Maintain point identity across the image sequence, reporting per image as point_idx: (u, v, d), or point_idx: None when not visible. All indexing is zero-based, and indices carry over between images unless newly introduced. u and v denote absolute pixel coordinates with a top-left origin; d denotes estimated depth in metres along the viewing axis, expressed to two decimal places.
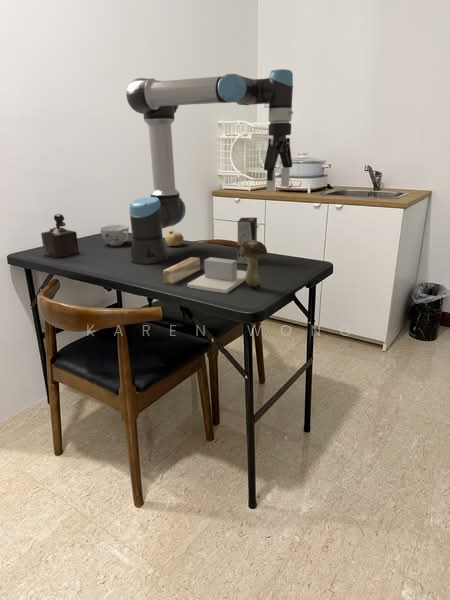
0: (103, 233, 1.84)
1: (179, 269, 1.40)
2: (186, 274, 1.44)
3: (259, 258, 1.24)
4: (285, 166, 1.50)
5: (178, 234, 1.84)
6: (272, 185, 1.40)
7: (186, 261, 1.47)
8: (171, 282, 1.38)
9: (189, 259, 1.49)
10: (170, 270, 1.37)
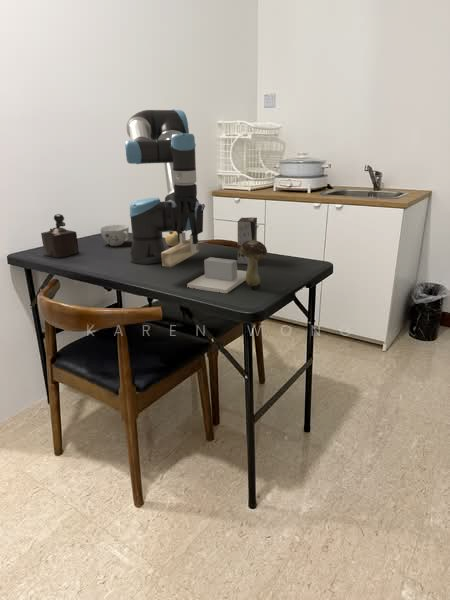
0: (103, 233, 1.84)
1: (177, 251, 1.38)
2: (184, 256, 1.42)
3: (259, 258, 1.24)
4: None
5: None
6: None
7: (184, 243, 1.45)
8: (169, 264, 1.36)
9: (188, 241, 1.47)
10: (168, 253, 1.35)
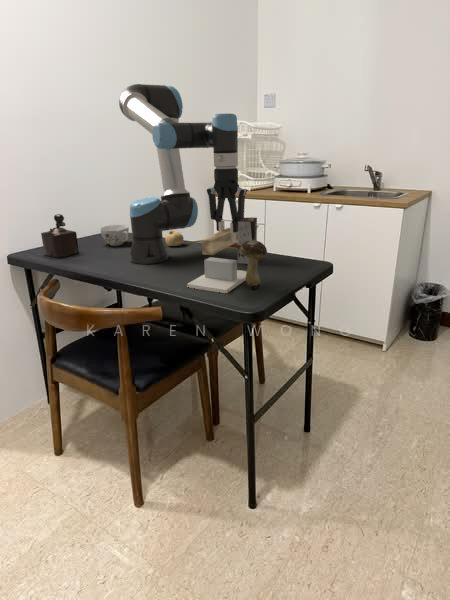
0: (103, 233, 1.84)
1: (218, 238, 1.29)
2: (225, 245, 1.34)
3: (259, 258, 1.24)
4: None
5: (178, 234, 1.84)
6: None
7: (224, 231, 1.36)
8: (211, 252, 1.27)
9: (226, 229, 1.39)
10: (209, 239, 1.26)
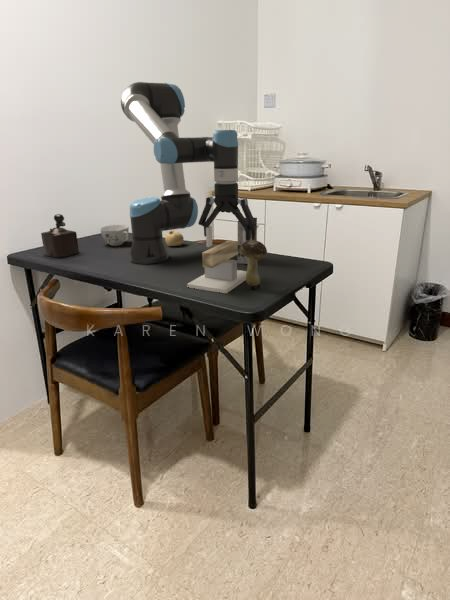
0: (103, 233, 1.84)
1: (219, 252, 1.31)
2: (225, 258, 1.35)
3: (259, 258, 1.24)
4: None
5: (178, 234, 1.84)
6: None
7: (224, 244, 1.38)
8: (211, 265, 1.29)
9: (227, 242, 1.40)
10: (210, 253, 1.28)
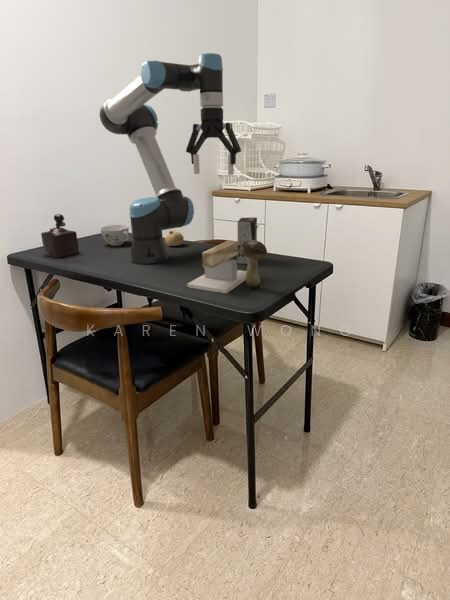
0: (103, 233, 1.84)
1: (219, 252, 1.31)
2: (225, 258, 1.35)
3: (259, 258, 1.24)
4: None
5: (178, 234, 1.84)
6: None
7: (224, 244, 1.38)
8: (211, 265, 1.29)
9: (227, 242, 1.40)
10: (210, 253, 1.28)
